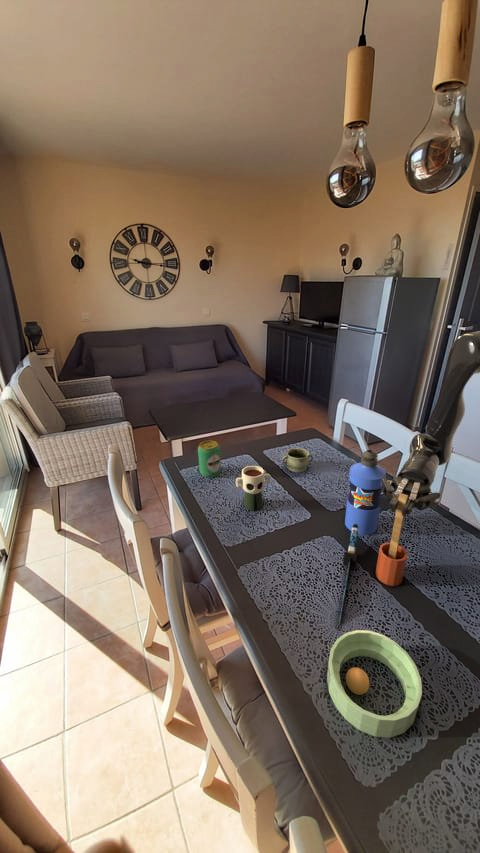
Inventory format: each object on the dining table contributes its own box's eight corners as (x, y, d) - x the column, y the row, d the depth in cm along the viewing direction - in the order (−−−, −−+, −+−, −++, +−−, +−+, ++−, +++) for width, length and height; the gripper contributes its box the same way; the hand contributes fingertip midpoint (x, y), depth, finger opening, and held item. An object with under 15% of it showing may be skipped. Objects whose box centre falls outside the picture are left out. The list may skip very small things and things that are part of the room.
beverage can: (206, 480, 132) (204, 451, 127) (196, 471, 138) (193, 443, 133) (225, 474, 136) (223, 445, 131) (214, 465, 142) (212, 438, 137)
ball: (364, 676, 67) (367, 662, 65) (370, 700, 63) (373, 686, 62) (342, 675, 67) (344, 661, 66) (347, 699, 64) (349, 685, 62)
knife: (351, 533, 102) (352, 521, 100) (362, 536, 101) (364, 524, 98) (325, 632, 78) (326, 619, 76) (339, 637, 77) (340, 625, 75)
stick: (385, 574, 89) (400, 492, 79) (392, 577, 88) (408, 495, 79) (384, 578, 88) (398, 496, 78) (390, 581, 87) (406, 498, 77)
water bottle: (348, 512, 113) (357, 440, 102) (379, 521, 108) (391, 447, 98) (340, 530, 105) (348, 454, 95) (373, 540, 101) (385, 462, 91)
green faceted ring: (398, 652, 72) (403, 631, 69) (430, 744, 58) (437, 723, 56) (321, 648, 73) (323, 628, 70) (334, 738, 59) (337, 717, 57)
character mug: (239, 514, 113) (238, 479, 108) (235, 501, 120) (233, 467, 114) (272, 509, 115) (273, 474, 110) (266, 497, 121) (266, 463, 116)
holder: (396, 570, 91) (402, 542, 87) (405, 590, 85) (411, 561, 82) (372, 569, 91) (376, 541, 88) (379, 589, 86) (384, 560, 82)
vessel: (284, 474, 134) (284, 459, 132) (279, 462, 142) (279, 448, 140) (315, 471, 135) (316, 457, 133) (309, 460, 143) (310, 446, 141)
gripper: (390, 454, 92) (368, 485, 79) (451, 469, 84) (437, 506, 72) (386, 479, 95) (364, 513, 82) (444, 496, 87) (430, 536, 75)
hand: (398, 510), depth 77 cm, fingers closed on stick, 1 cm apart
